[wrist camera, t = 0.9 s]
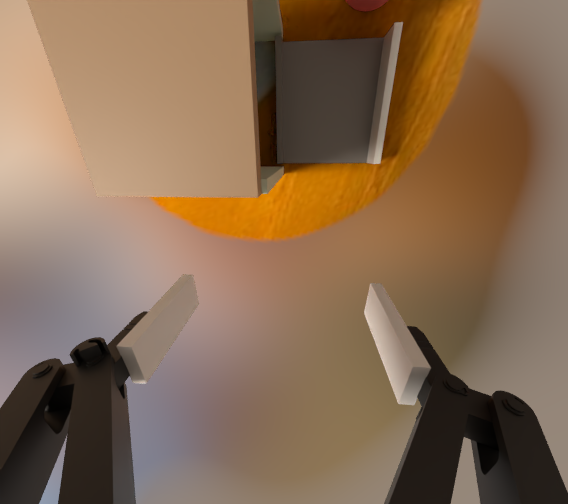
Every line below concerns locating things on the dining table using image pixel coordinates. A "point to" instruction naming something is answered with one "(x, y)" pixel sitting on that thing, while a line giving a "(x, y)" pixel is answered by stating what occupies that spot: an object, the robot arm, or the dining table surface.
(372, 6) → the flower pot
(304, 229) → the dining table surface
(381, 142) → the tray
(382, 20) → the dining table surface
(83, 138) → the beige open box
